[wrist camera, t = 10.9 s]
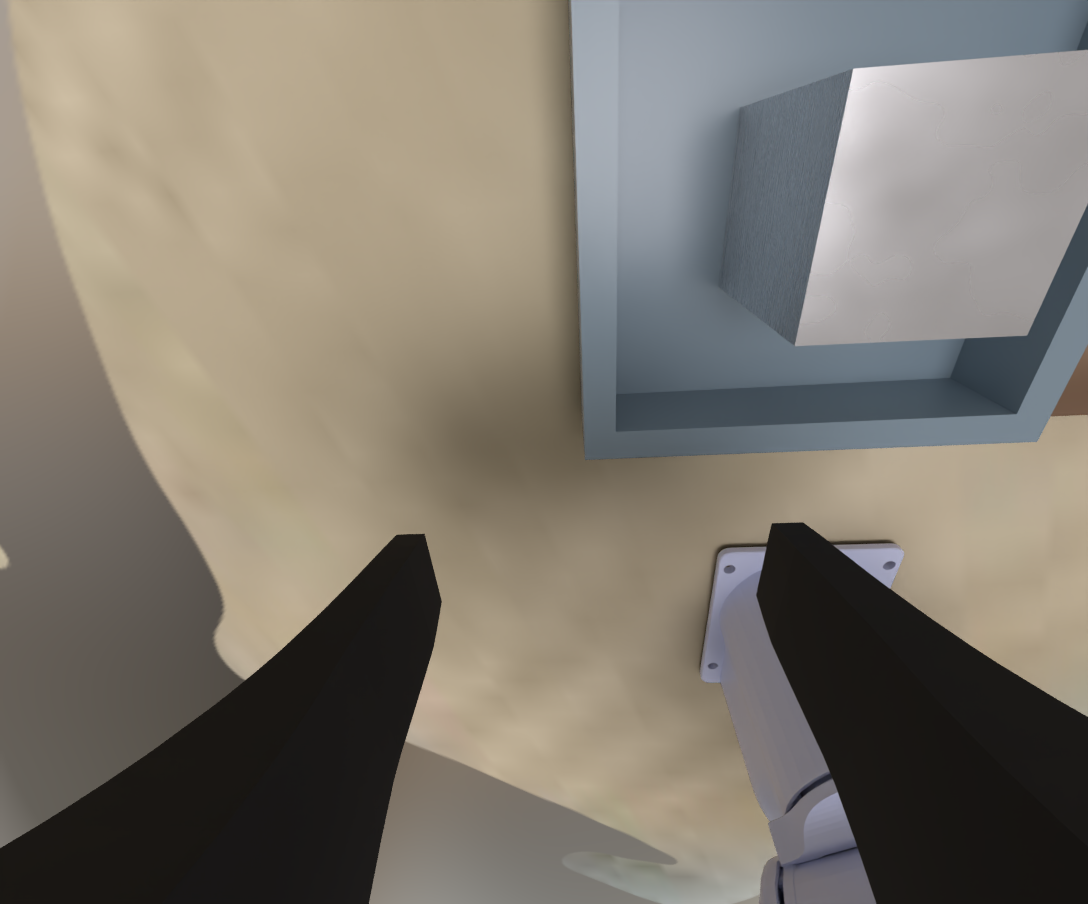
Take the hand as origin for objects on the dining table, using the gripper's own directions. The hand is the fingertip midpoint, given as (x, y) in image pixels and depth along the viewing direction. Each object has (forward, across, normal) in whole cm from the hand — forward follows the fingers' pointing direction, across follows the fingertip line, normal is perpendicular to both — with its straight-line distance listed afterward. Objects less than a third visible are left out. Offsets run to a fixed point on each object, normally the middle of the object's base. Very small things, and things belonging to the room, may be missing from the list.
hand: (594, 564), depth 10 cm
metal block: (+9, -7, -6) cm, 13 cm away
